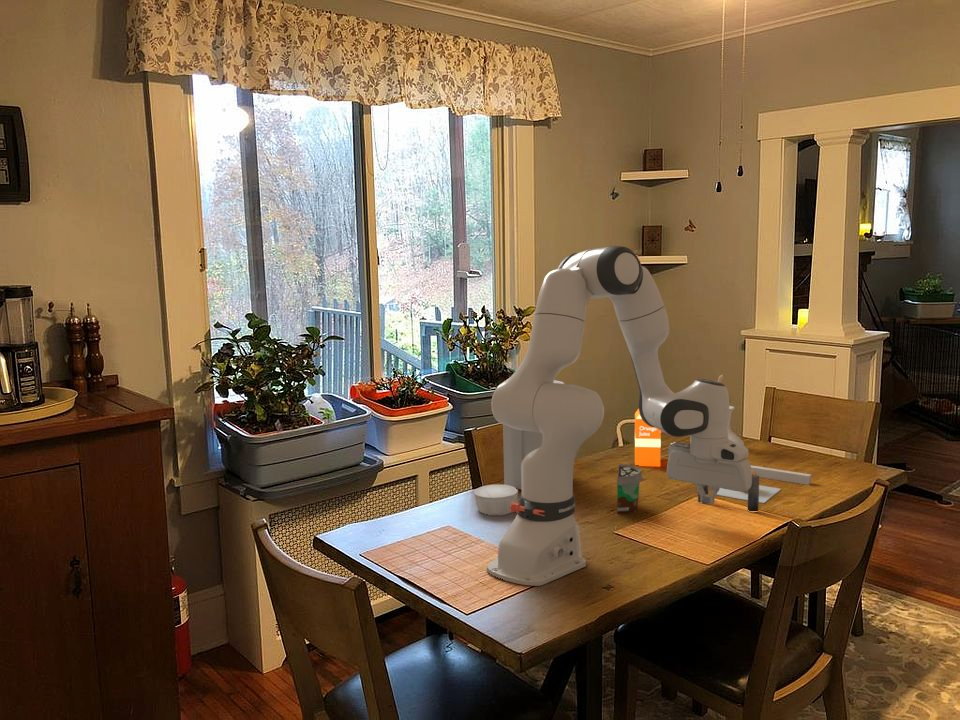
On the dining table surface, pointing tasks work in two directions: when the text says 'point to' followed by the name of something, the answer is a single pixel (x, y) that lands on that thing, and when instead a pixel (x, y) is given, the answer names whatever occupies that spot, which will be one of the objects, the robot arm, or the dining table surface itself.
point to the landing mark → (764, 493)
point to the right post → (753, 494)
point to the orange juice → (646, 443)
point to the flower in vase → (732, 436)
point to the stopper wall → (782, 475)
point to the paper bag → (518, 451)
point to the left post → (705, 492)
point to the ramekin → (495, 499)
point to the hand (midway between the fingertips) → (707, 502)
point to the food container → (628, 488)
